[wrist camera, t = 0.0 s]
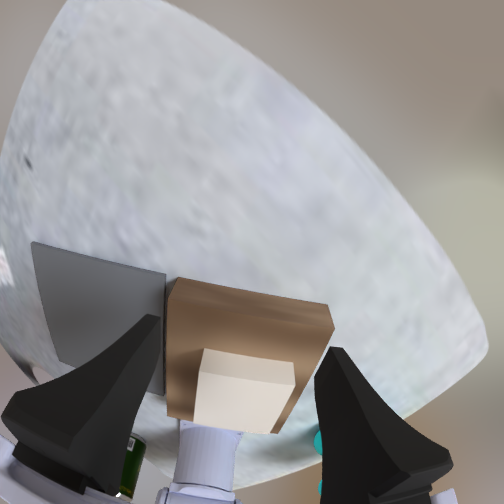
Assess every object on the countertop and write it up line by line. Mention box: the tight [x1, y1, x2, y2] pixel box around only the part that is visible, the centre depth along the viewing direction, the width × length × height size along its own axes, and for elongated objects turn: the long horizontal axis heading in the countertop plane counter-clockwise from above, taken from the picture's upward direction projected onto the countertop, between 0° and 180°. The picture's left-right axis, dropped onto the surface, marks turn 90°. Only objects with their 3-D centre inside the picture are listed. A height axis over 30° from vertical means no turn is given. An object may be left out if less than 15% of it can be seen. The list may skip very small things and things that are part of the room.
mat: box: [31, 242, 166, 396], centre depth 25 cm, size 16×14×1 cm
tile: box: [193, 348, 295, 434], centre depth 22 cm, size 8×7×2 cm
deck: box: [166, 277, 335, 434], centre depth 24 cm, size 16×12×3 cm
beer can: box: [114, 432, 146, 502], centre depth 30 cm, size 5×5×12 cm
